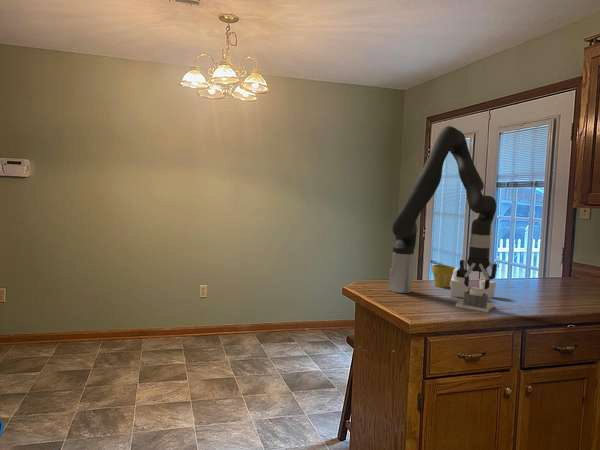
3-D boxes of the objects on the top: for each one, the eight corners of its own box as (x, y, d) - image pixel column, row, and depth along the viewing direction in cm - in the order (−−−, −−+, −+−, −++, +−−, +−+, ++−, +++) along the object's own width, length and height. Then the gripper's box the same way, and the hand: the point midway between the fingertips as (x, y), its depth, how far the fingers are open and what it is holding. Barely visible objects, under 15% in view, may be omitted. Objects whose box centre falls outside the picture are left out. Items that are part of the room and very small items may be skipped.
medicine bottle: (467, 295, 202) (469, 268, 201) (467, 298, 195) (469, 271, 194) (450, 293, 204) (452, 267, 204) (450, 296, 198) (452, 269, 197)
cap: (467, 301, 180) (468, 289, 179) (470, 298, 184) (471, 286, 183) (480, 304, 177) (481, 292, 177) (483, 301, 182) (484, 289, 181)
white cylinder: (496, 299, 197) (497, 283, 197) (479, 297, 199) (480, 281, 198) (493, 295, 204) (494, 280, 203) (476, 294, 205) (478, 279, 205)
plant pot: (427, 283, 225) (428, 264, 224) (447, 284, 226) (448, 264, 226) (435, 288, 215) (437, 267, 214) (456, 288, 216) (458, 268, 215)
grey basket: (455, 306, 179) (456, 293, 179) (462, 301, 189) (463, 289, 189) (488, 312, 173) (489, 298, 172) (493, 306, 183) (494, 293, 183)
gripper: (500, 247, 179) (497, 289, 180) (463, 243, 186) (459, 283, 187) (497, 248, 172) (494, 292, 174) (458, 244, 180) (455, 286, 181)
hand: (476, 287), depth 180 cm, fingers open, 6 cm apart
